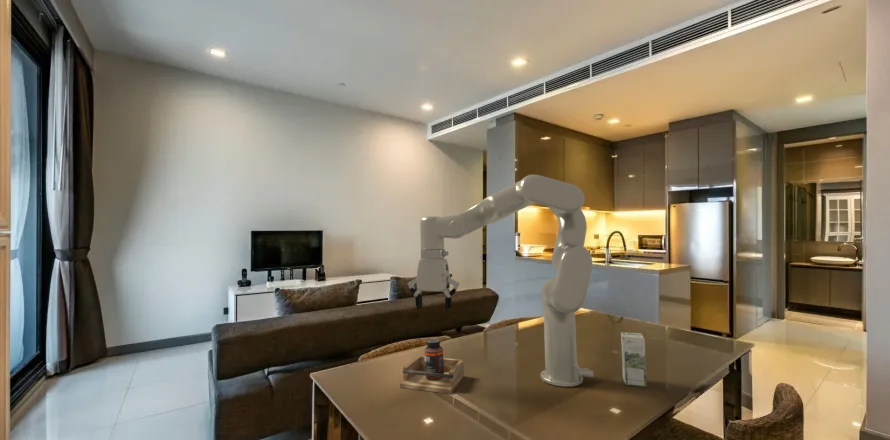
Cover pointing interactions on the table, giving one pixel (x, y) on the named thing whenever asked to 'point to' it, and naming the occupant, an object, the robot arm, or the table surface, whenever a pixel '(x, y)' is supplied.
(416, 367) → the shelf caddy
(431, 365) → the supplement bottle
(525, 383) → the table surface
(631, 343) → the syrup box
